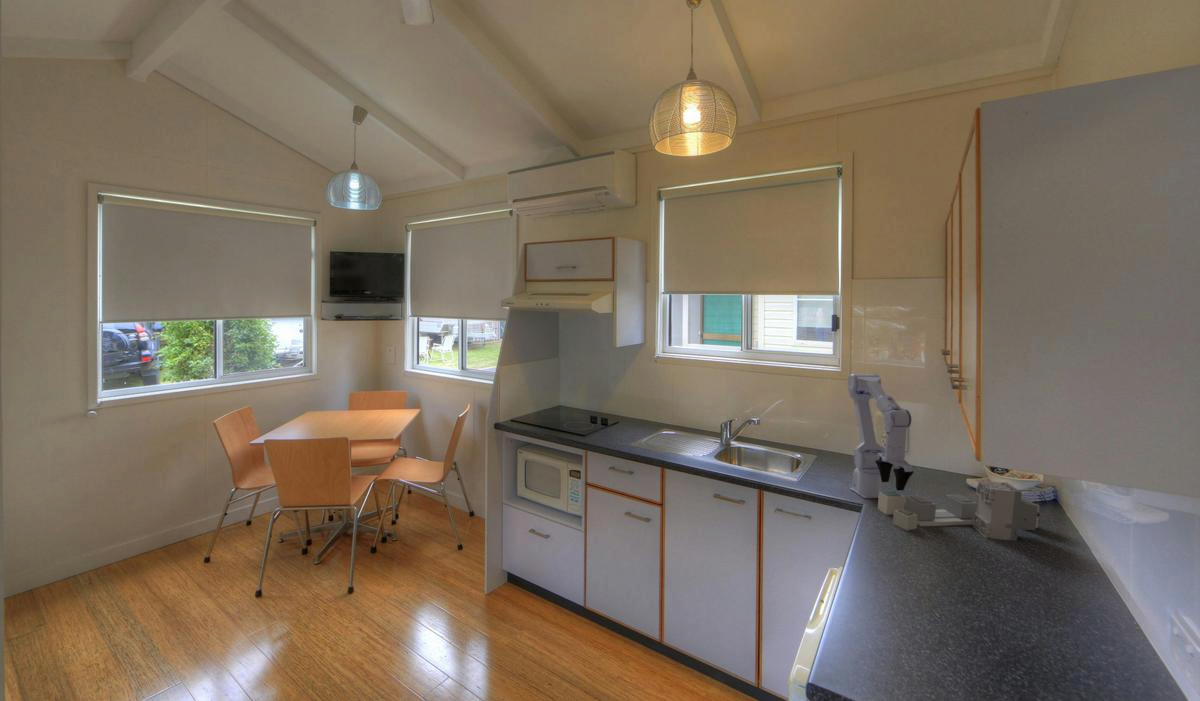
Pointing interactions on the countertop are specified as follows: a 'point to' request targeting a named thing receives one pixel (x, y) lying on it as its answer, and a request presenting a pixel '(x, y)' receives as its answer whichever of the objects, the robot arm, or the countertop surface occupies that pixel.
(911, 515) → the contactor
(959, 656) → the countertop surface
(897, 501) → the block
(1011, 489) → the circuit breaker
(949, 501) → the rail board
